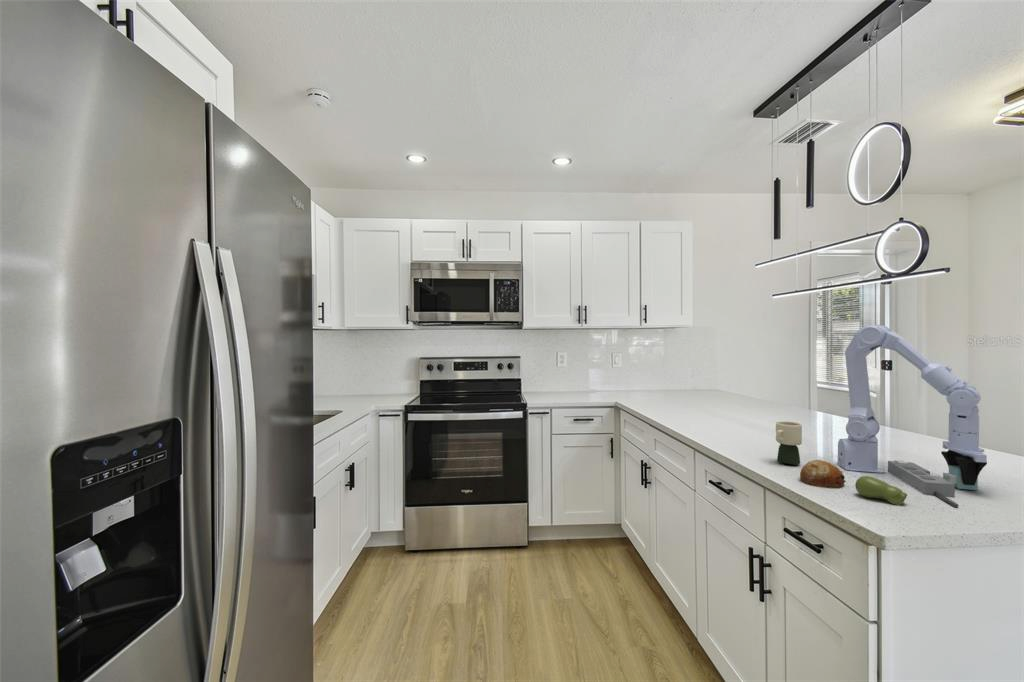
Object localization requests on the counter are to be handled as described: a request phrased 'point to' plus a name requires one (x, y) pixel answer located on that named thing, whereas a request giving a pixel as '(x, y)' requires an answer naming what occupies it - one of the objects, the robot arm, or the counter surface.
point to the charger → (958, 478)
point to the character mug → (788, 441)
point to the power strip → (923, 480)
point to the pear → (879, 490)
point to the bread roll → (822, 474)
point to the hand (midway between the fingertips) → (962, 481)
